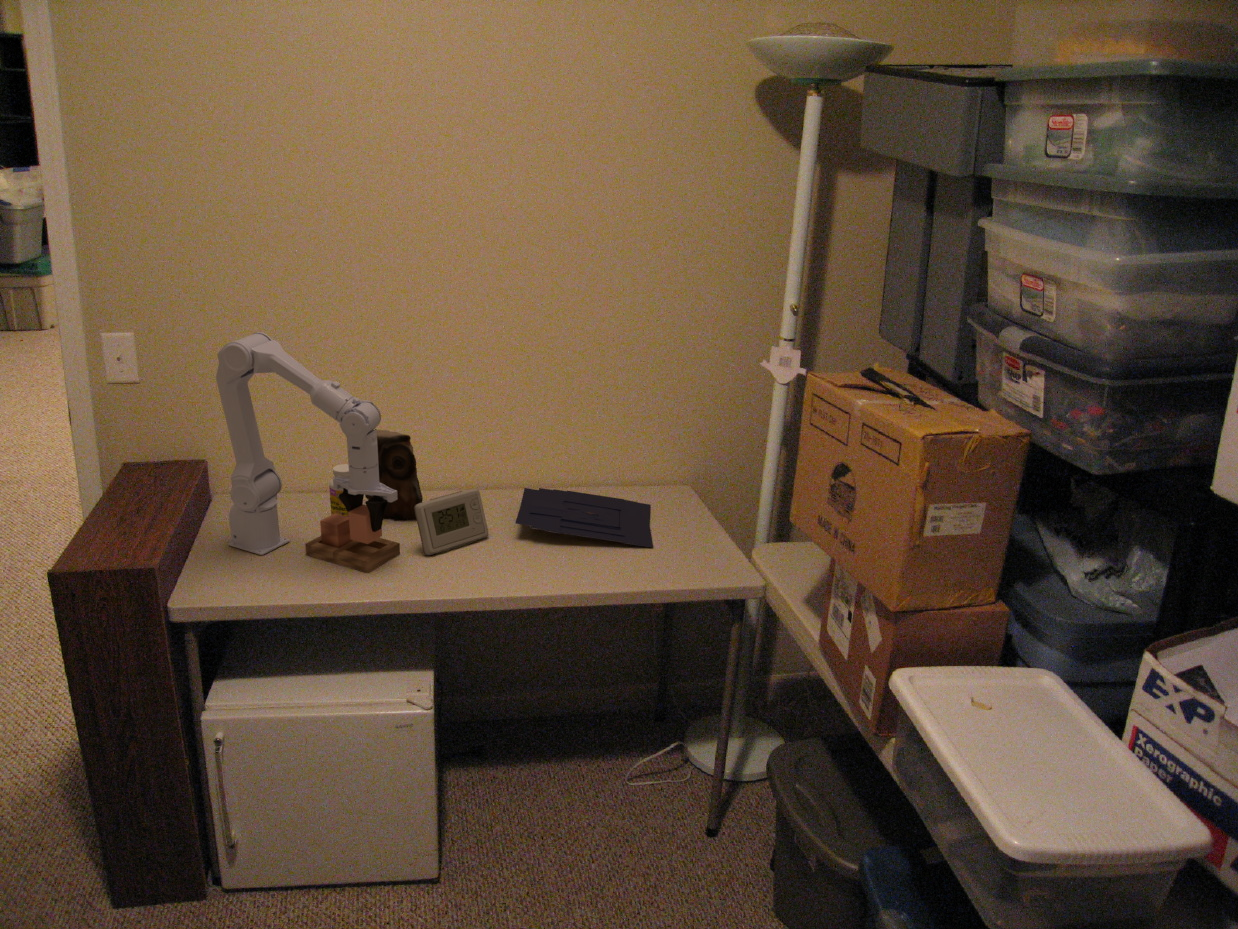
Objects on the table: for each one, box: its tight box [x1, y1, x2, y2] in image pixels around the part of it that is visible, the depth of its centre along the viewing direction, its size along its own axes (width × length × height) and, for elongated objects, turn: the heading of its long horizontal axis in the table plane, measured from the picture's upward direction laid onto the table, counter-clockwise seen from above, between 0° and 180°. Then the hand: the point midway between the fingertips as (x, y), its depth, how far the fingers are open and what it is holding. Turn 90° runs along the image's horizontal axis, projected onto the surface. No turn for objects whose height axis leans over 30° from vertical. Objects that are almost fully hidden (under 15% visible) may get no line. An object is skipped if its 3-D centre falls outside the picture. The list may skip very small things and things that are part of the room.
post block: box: [348, 504, 383, 544], centre depth 193 cm, size 4×4×6 cm
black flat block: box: [515, 487, 654, 548], centre depth 216 cm, size 24×30×4 cm
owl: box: [364, 429, 424, 522], centre depth 214 cm, size 13×13×20 cm
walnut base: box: [304, 513, 401, 574], centre depth 196 cm, size 16×10×7 cm, turn 64°
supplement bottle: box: [328, 463, 349, 517], centre depth 210 cm, size 7×7×13 cm
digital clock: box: [414, 487, 489, 556], centre depth 203 cm, size 16×9×11 cm, turn 122°
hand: (367, 527), depth 193 cm, fingers closed on post block, 4 cm apart
